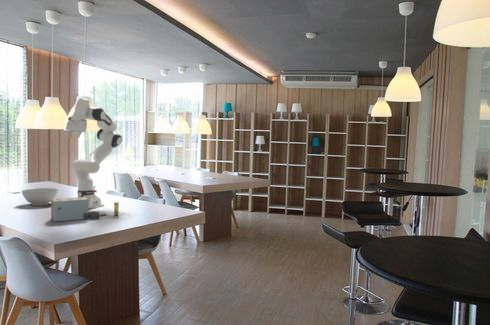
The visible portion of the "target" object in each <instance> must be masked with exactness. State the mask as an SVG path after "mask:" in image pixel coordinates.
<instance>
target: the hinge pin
mask: <svg viewBox="0 0 490 325" xmlns="http://www.w3.org/2000/svg"><path fill="white" fill-rule="evenodd" d="M113 204H114V205H113V215H114V216H118V217H119V210H120V208H119V205H120V203H119V202H118V201H117V202H113ZM114 216H113V217H114Z"/></svg>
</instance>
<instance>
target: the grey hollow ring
mask: <svg viewBox="0 0 490 325" xmlns="http://www.w3.org/2000/svg"><path fill="white" fill-rule="evenodd" d="M98 219H100V211H98V210H93V211H92V210H91V211H88V213H84V219H83V220H98Z"/></svg>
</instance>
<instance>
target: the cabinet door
mask: <svg viewBox="0 0 490 325" xmlns="http://www.w3.org/2000/svg"><path fill="white" fill-rule="evenodd" d="M88 212H89V208H88V199H79V200H63V201H54V221H53V222H64V221H75V220H84V213H88Z"/></svg>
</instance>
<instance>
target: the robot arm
mask: <svg viewBox="0 0 490 325" xmlns="http://www.w3.org/2000/svg"><path fill="white" fill-rule="evenodd" d="M76 101H77V102H76V103H75V107H74V111H73V115H71V116H69V117H68V119H67V122H66V125H65V126H66V127H65V131H67V132H68V138H72V137H73V134H72V133H77V134H76V135H75V137H76V138H77V139H78V138H80V136H81V135H82V133H86V131H87V127H88V123H87V122H88V120H89V121H90V120H91V121H96V126H97V127H98V128H99V130H98V131H97V132H96V138H97V140H99V141H100V142H103V143H102V144H100V145H99V146H98V147H96V148H95V149H94V150H92V151H91V152H90V154H89V158H87V159H83V158H80V159H75V160H74V161H72V163H71V168H72V170H73V172H74V173H75V175H76V179H77V188H78V189H77V197H86V198H87V199H88V209H96V208H100V207H104V206H105V204H104V203H102V201H101V198H100V197H99V196H97V195H96V194H95V193H97V189H94V181H93V179H92V178H91V175H92V174H95V173H98V172H99V171H100V166H101V163H102V162H103V161H104V160H105V159H107V157H108V156H109V155H110V154H111V153H112V152H113V148H115V149H116V147H118V146H120V145H121V144H122V141H123V137H122V135H121V134H119V133H117V132H115V131H116V130H117V124H116V123H115V122H114V120H112V118H111V117H110V116H109V115H108V114H107V113H106V112H105V110H104V109H103V108H102V107H93V106H91V105H90V100H89V99H86V98H79V99H77V100H76ZM90 174H91V175H90Z"/></svg>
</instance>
